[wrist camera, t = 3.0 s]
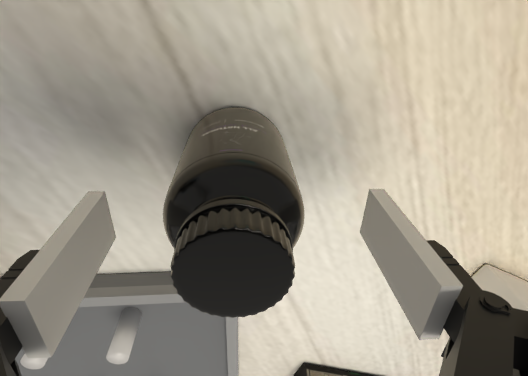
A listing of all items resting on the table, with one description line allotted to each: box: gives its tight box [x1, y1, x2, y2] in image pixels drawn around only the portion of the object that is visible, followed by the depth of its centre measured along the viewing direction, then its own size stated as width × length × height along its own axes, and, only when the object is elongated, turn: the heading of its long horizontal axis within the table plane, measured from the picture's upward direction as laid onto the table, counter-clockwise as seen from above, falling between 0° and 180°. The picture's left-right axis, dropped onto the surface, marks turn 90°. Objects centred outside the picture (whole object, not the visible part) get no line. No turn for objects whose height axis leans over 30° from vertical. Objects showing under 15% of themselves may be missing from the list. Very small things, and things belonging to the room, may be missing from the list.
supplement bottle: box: [163, 107, 304, 318], centre depth 17 cm, size 7×7×12 cm
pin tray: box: [0, 272, 238, 376], centre depth 29 cm, size 24×18×6 cm
